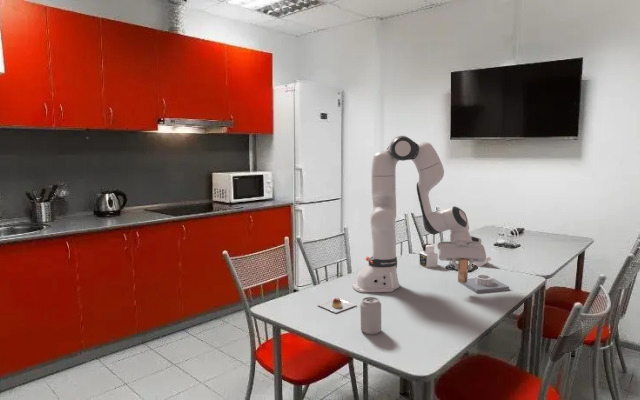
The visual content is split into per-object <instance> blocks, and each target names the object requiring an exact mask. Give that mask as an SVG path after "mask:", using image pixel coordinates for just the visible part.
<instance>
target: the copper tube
mask: <svg viewBox="0 0 640 400" xmlns="http://www.w3.org/2000/svg"><path fill="white" fill-rule="evenodd" d="M457 264H459V269H457V282H458V283H459V284H461V283H467V279H469V278H468V275H469V273H468V271H469V270H468V259H464V258H460V259H459V261H458V263H457Z"/></svg>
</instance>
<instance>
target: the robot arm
mask: <svg viewBox="0 0 640 400" xmlns="http://www.w3.org/2000/svg"><path fill="white" fill-rule="evenodd" d="M399 161H402V162H403V161H404V162H405V161H412V162H413V163H414V165H415V167H416V170H417V173H418V181H417V183H416V193H417V197H418V198H417V199H418V203H419V206H420V210H421V215H422V222H423V223H422V224H423V227H424V230H425V232H427V233H428V234H431V235H433V236H435V235H438V234H440V233H442V232H445V231H449V232H450V234H449V241H440V242H438V243H437V249H438V259H439V260H440V261H448V262H449V261H450V262H451V264H452V265H453V266H454V269H455V270H458V269H459V264H458V263H457V262H459V259H460V258H464V259H468V261H469V263H470V265H468V271H471V270H472V269H473V268H472V266H473V265H472V264H473V262H484V261H485V260H486V255H487V254H486V249H485V247H484V245H483V244H482V239H481V238H480V237H476V236H473V235H471V234H470V232H469V230H470V225H469V219H468V217H467V214H466V212H465V211H463V209H461V208H460V207H458V206H451V207H448V208H444V209H440V210H438V211H435V212H434V211H432V206H431V205H432V204H431V203H430V202H431V201H430V196H429V193H430V192H431V190H433V188H435V187H436V186H437V185H438V184H439V183H440V182H441V181H442V180H443V177H444V176H445V175H444V174H445V169H444V166H443V163H442V160H441V159H440V156H439V154H438V153H437V151H436V150H435V148H434V146H433V145H432V143H430V142H425V141H424V142H420V143H416V142H415V140H413V139H411V138H409V137H408V136H406V135H397V136H396V137H394V138H393V139H392V140H391V141H390V143H389V145H388V146H387V147H386V150H381V151H378V152H376V153H374V155H373V158H372V162H371V197H372V199H371V200H372V212H371V214H370V230H371V241H372V247H371V249H372V254H371V255H372V256H371V257H369V256H366V257H365V260H366V262H368V264H367V265H366V266H365V267H363V269H361V270H359V272H358V273H357V276H356V281H355V280H354V281H353V282H352V283H351V284H352V286H351V287H352V288H353V289H354V290H355V291H356V292H358V293H391V292H392V293H393V292H394V291H395V290H396V289H398V288H399V287H400V286H401V285H400V282H399V278H398V271H397V268H398V257H397V240H396V238H397V236H396V219H397V198H396V197H397V192H396V189H397V188H396V183H397V182H396V169H397V168H396V166H397V164H398V162H399Z"/></svg>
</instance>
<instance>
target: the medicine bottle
mask: <svg viewBox="0 0 640 400" xmlns="http://www.w3.org/2000/svg"><path fill="white" fill-rule="evenodd" d="M438 259H439V253H437V252H435V245H434V244H432V243H424V244H423V245H422V251H420V252H419V265H420V266H421V267H424V268H426V269H429V268H436V267H437V268H438V262H439V260H438Z"/></svg>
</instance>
